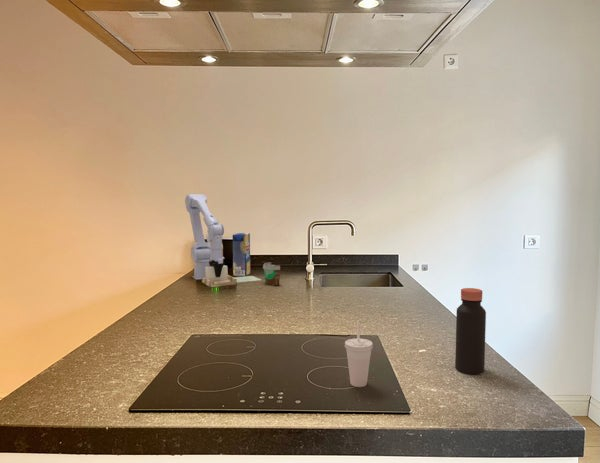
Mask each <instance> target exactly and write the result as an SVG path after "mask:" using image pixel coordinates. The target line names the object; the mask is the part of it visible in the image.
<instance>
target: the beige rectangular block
mask: <svg viewBox="0 0 600 463" xmlns="http://www.w3.org/2000/svg"><path fill="white" fill-rule="evenodd" d="M205 275H206V279H208V280H209V281H219V280H228V275H229V273H228V265H225V264H224V266H223V268H222V271H221V276H220V277H216V276H215V270H214V267H213V266H211V267H205Z"/></svg>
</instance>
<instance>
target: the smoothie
mask: <svg viewBox="0 0 600 463" xmlns="http://www.w3.org/2000/svg"><path fill="white" fill-rule="evenodd" d="M356 324H357V325H356V326H357V330H356V332H357V334H356V338H349V339H347V340H345V341H344V348H345V349H346V356H347V357H346V358H347V366H348V374H349V375H348V376H349V381H350V382H349V383H350V385H351V386H353V387H354V388H355V387H356V388H362V387H366V386H367V383H368V377H369V368H370V361H371V354H372V350H373V348H374V344H373V341H371V340H369V339H367V338H366V339H365V338H361V337H360V336H361V334H360V333H361V332H360V331H361V330H360V329H361V328H360V327H361V326H360V325H361V323H360V322H357V323H356Z"/></svg>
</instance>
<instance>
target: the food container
mask: <svg viewBox="0 0 600 463" xmlns="http://www.w3.org/2000/svg"><path fill="white" fill-rule="evenodd" d="M262 269H263V272H264V274H263V275H264V283H265V285H266V286H273V287H279V286H280V275H281V265H280V264H279V265H278V264H277V265H276V264H272V262H270V261H269V262H264V263H263V265H262Z"/></svg>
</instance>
